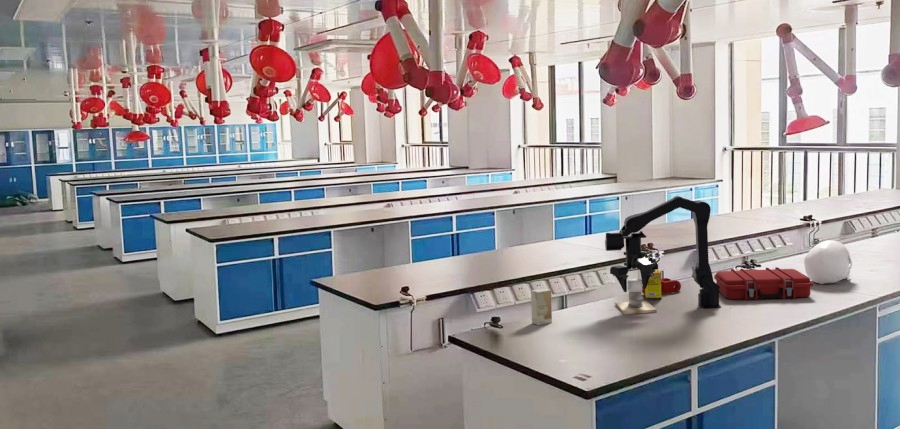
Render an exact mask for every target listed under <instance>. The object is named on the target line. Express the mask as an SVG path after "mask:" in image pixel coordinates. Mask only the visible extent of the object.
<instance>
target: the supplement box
mask: <svg viewBox="0 0 900 429" xmlns="http://www.w3.org/2000/svg"><path fill="white" fill-rule="evenodd" d="M661 279H662V273H661V270H660V269H657V270H656V271H655V272H653V273H652V274H651V275H650V278H649V281H648V284H647V287H646V289H645V294H644V295H645V299H646V301H647V300H648V301H649V300H654V301H655V300H662V293H661Z"/></svg>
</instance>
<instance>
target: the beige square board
mask: <svg viewBox="0 0 900 429" xmlns="http://www.w3.org/2000/svg"><path fill="white" fill-rule="evenodd" d="M615 306H616V307H617V308H618V310H620V312H621V313H623V314H624V315H631V314H632V315H633V314H635V315H636V314H647V313H648V314H649V313H650V314H651V313H657V311H658V310H657V308H655V307H654V306H653V305H652V304H650V302H648V301H647V300H643V298H642V291H641V292H629V291H628V301H625V302H624V301H623V302H615Z"/></svg>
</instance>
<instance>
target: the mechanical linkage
mask: <svg viewBox="0 0 900 429" xmlns="http://www.w3.org/2000/svg"><path fill="white" fill-rule="evenodd" d="M681 288H682V284H681V282H680V281H678V280H676V279H672V280H671V279H670V278H667V277H664V278H662V277H661V294H663V293H664V295H668V294H667V293H669V294H673V293H672V292H675V293H678V292H680V291H681ZM641 293H642V294H643V295H645V289H644V288H643V285H642V291H641Z"/></svg>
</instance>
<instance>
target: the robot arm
mask: <svg viewBox="0 0 900 429" xmlns="http://www.w3.org/2000/svg"><path fill="white" fill-rule="evenodd" d="M679 208H680V209H682V210H686V211H690V212H691V216H692V219H693V222H694V225H695V246H696V247H695V250H696V264H695V266H691V270H692V275H691V278H693V281H694V282H695V283H696V284H697V285H698V286H699V288H700V289H699V293H698V294H697V297H698V301H697V302H698V303H697V304H698V305H699V306H700V307H701V308H703V309H710V308H711V309H713V308H714V309H715V308H722V305H721V304H720V291H719V288H720V286H718V285H717V284H716V282H715V281H714V275H713V272H712V268H711V266H710V263H709V260H710V259H709V240H708V225H709V222H710V218H711V210H712V208H711V206H710V204H709V203H708V202H706V201H703V200H701V199H700V200H695V201H694V200H692V199H688V198H684V197H682V196H679V195H676V196H673V198H671V199H668V200H667V201H665V202H663V203H661V204H658V205H657V206H655V207H652V208H650V209H649V210H648V209H647V211H643V212H639V213H635V214H632V215H629V216H627V217H625V219H624V221H623V226H622V227H621V228H620V230H619V232H606V233H605V240H604V245H605V251H606V252H609V251H611V252H612V251H613V252H615V251H622V249H624V248H625V251H624V252H623V255H624V256H625V262H624V263H623V265H624V266H623V265H619V264H618V265H613V266H610V268H609V274H610V275H612V276H613V277H615V278H616V280H617V281H618V284H619V285H620V287H621V289H622V290H623V293H627V292H628V277H629V275H628V274H629V272H633V271H639V272H640V279H641V280H642V286H643V288H644V289H646V287H647V284H648V281H649V278H650V275H651V274H652V273H653V272H655V271H656V270H659V263H657V258H656V257H654V256H650V257H645V252H643V251H642V238H643V239H644V238H647V235H646V234H645V233H644V232H643V230H642V229H644V228H645V227H646V226H647V225H649V223H651V222H653V221H654V220H657V219H659V218H661V217H663V216H666V214H669V213H671V212H673V211H675V210H677V209H679Z"/></svg>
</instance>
